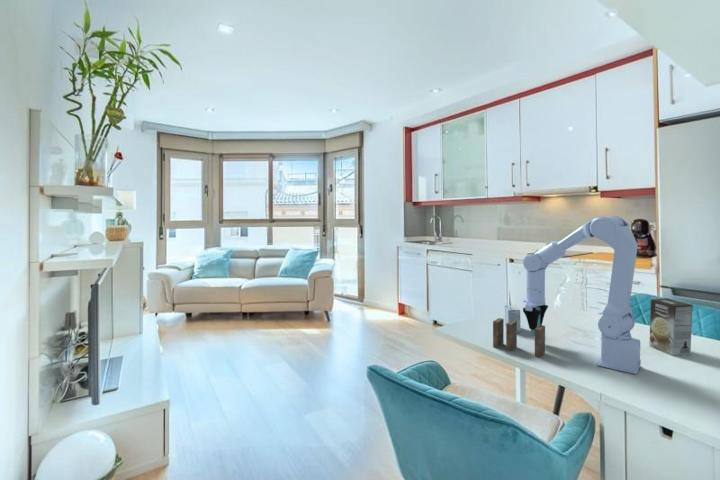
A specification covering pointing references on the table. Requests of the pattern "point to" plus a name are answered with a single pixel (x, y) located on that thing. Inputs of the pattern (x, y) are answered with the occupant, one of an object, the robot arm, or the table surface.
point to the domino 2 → (538, 323)
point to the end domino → (498, 332)
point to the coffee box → (671, 326)
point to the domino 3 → (539, 341)
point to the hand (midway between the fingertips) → (535, 327)
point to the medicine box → (512, 315)
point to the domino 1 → (511, 335)
